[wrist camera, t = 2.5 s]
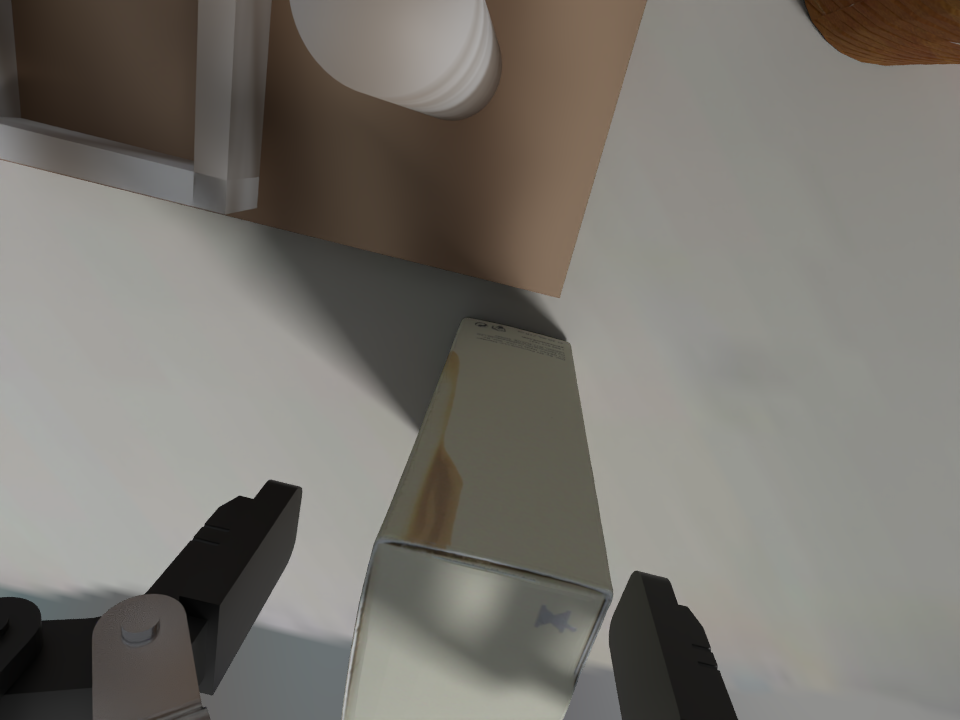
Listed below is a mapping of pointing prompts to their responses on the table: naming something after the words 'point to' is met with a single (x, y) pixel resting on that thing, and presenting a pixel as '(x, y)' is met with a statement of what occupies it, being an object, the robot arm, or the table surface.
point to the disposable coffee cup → (891, 29)
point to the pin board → (334, 116)
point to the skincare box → (486, 546)
